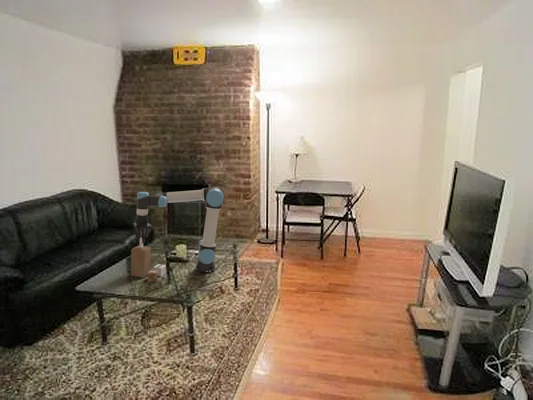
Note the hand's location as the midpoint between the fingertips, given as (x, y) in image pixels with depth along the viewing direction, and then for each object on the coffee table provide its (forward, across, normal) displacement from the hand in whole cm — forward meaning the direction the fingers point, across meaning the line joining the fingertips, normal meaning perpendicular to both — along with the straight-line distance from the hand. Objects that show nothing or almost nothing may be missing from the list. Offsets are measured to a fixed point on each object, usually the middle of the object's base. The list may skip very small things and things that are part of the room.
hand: (141, 247), depth 259 cm
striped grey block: (+20, -12, -5) cm, 24 cm away
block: (+21, 0, 0) cm, 21 cm away
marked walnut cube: (+20, -11, +7) cm, 24 cm away
